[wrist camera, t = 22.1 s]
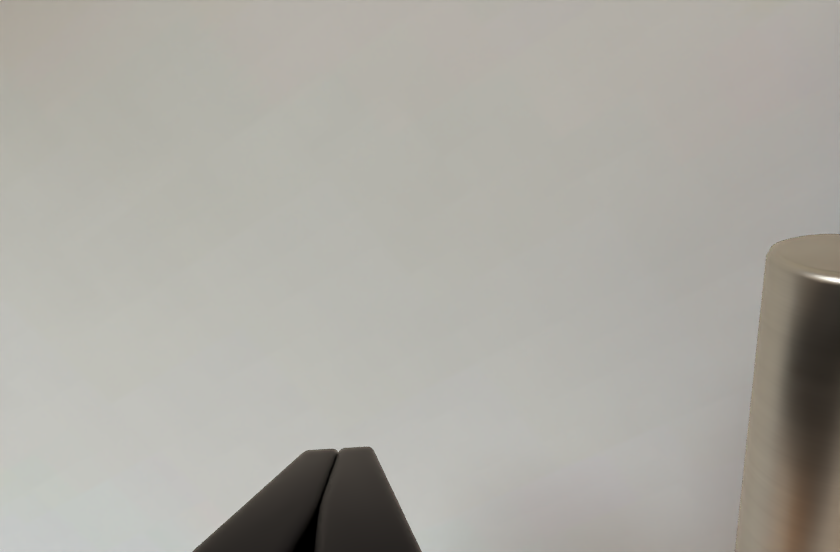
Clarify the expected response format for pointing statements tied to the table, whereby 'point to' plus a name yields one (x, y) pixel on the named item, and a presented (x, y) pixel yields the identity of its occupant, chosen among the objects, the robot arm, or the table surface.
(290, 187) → the table surface
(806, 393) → the drawer
